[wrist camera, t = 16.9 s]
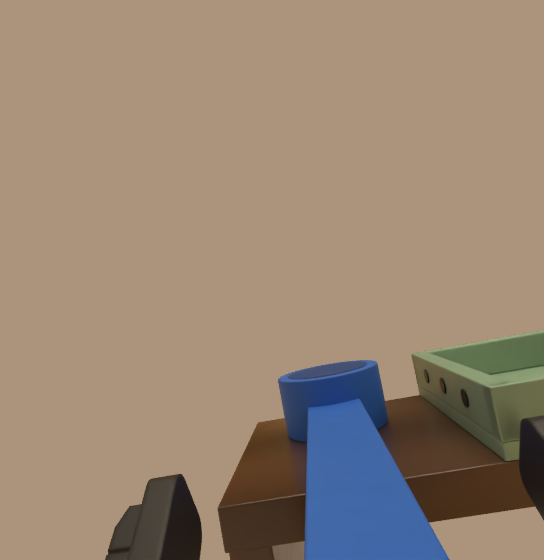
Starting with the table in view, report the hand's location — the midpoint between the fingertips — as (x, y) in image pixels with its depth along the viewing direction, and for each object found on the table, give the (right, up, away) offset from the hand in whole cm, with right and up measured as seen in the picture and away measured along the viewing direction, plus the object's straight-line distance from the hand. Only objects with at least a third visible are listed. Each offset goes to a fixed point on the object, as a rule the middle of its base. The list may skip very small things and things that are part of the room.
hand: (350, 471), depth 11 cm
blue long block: (+1, -2, +5) cm, 5 cm away
